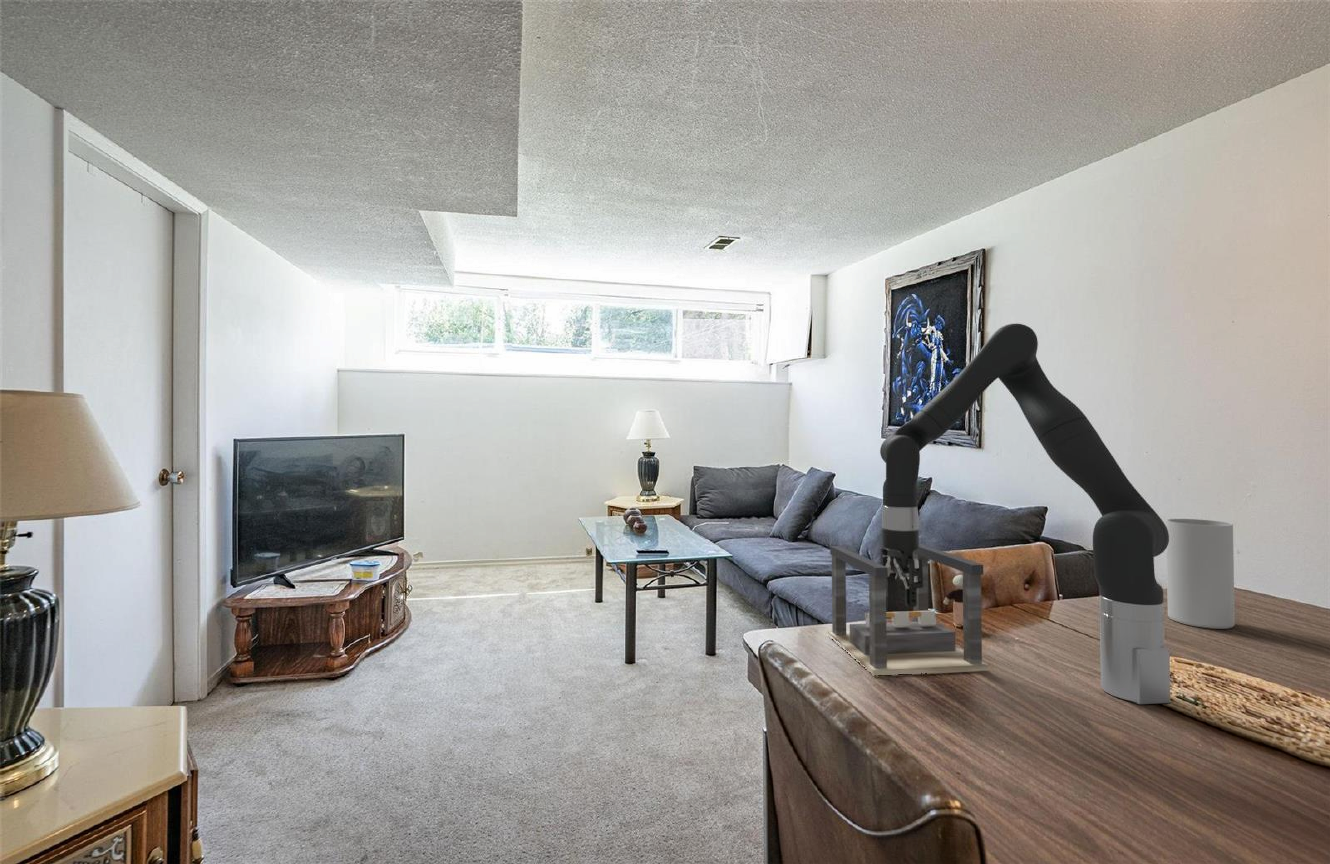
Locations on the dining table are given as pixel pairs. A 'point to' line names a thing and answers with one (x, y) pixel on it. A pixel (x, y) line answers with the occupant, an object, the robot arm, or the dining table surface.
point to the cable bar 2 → (950, 560)
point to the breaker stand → (908, 631)
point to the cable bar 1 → (859, 562)
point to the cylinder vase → (1200, 573)
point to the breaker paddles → (903, 617)
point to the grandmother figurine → (956, 600)
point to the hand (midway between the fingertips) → (900, 600)
